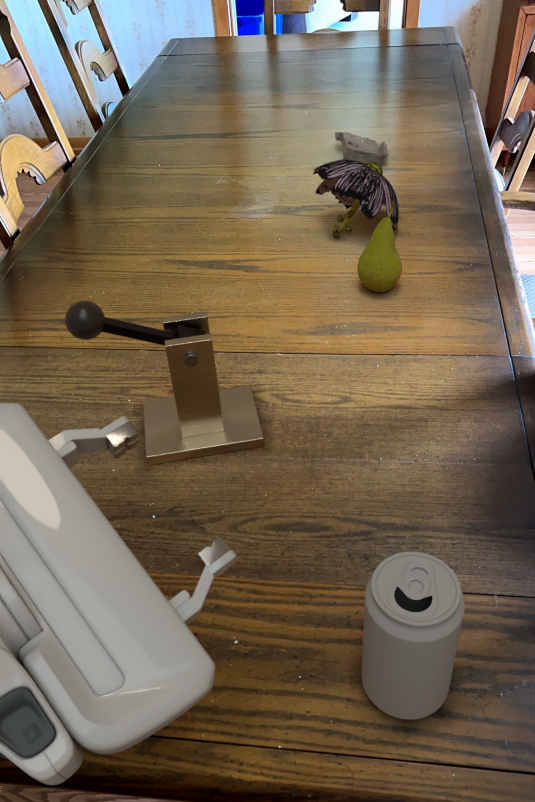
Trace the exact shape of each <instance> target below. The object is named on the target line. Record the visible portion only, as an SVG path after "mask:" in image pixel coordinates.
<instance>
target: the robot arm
mask: <svg viewBox="0 0 535 802" xmlns="http://www.w3.org/2000/svg"><path fill="white" fill-rule="evenodd" d="M140 441H141V440H140V433H139V431H138V430H137V429H136V427H135V426H134V425H133V424H132V422H131V421H130V420H129V419H128V417H127V416H125V415H123V416H120V417H118V418H116V419H115V420H114V421H111V422H110V423H109V424H106V425H105V426H104V427H102V428H100V427H94V428H93V427H91V428H75V429H64V430H63V431H61V432H59V433H57V434H56V435H54V436H53V437H51V438H49V439H48V438H47V436H46V435H45V434H44V432H43V431H42V429H40V426H38V425H37V423H36V422H35V421H34V419H33V418H32V416H31V415H30V414H29V412H28V411H27V409H26V408H25V407H24V406H23V405H22V404H21V403H18V402H17V403H16V402H0V757H1V758H3V759H5V760H9V761H10V762H11V763H13V764H14V765H15V766H17V767H18V768H19V769H20V770H22V772H24V773H25V774H27V775H28V776H29V777H31V778H32V779H34V780H36V781H37V782H39V783H42V784H44V785H48V786H57V785H60V784H63V783H64V782H65V781H67V780H68V779H69V778H71V777H72V776H73V775H74V774H75V773H76V772H77V771H78V770H79V769H80V767H81V766H82V764H83V761H84V750H83V749H85V750H87V751H89V752H92V753H95V754H98V755H114V754H117V753H121V752H123V751H126V750H128V749H131V748H132V747H133V746H135V745H138V744H139V743H141V742H143V741H145V740H146V739H148V738H150V737H151V736H153V735H154V734H156V733H157V732H159V731H161V730H162V729H164V728H165V727H167V726H168V725H170V724H171V723H172V722H174V721H175V720H177V719H178V718H180V717H181V716H182V715H184V714H186V712H188V711H189V710H190V709H192V708H193V707H194V706H196V705H197V704H198V703H199V702H201V701H202V700H203V699H204V698H205V697H206V696H208V694H209V693H210V692H211V691H212V689H213V687H214V686H213V685H214V682H215V675H216V663H215V661H214V660H213V659H212V658H211V656H210V655H209V654H208V652H207V651H206V650H205V648H204V647H203V646H202V644H201V643H200V642H199V640H198V638H197V637H196V636H195V634H194V633H193V631H192V630H191V629H190V628H189V627H188V626H189V625H191V623H193V622H194V621H195V620H197V618H199V617H200V614H201V611H202V609H203V607H204V604H205V601H206V600H207V597H208V595H209V592H210V589H211V587H212V584H213V582H214V580H216V579H217V578H218V577H219V576H220V575H222V574H223V573H225V572H226V571H227V570H229V569H230V568H231V567H232V566H233V565H235V563H236V561H237V559H238V555H237V554H236V553H235V551H234V549H232V548H231V547H230V545H229V544H228V543H227V542H226V541H225V539H224V538H223V537H222V536H220V537H218V538H216V539H215V540H214V541H213V542H212V543H211V545H209V546H208V545H207V546H205V547H204V548H203V549H201V550H200V551H199V552H197V555H196V559H195V564H196V565H197V566H198V568H199V569H200V570H201V571H202V572H201V574H200V577H199V579H198V582H197V584H196V587H195V589H194V591H193V594H192V596H191V595H190V593H189V592H188V591H187V590H186V589H183V590H181V591H180V592H178V593H177V594H176V595H175V596H173V597H172V598H171V599H169V600H168V599H167V597H166V596H165V595H164V593H163V592H162V591H161V589H160V588H159V586H158V585H157V584H156V582H155V581H154V580H153V579H152V577H151V576H150V574H149V573H148V572H147V570H146V569H145V568H144V567H143V565H142V564H141V563H140V561H139V560H138V558H137V557H136V556H135V554H134V553H133V552H132V551H131V549H130V547H129V546H128V545H127V544H126V543H125V541H124V540H123V539H122V536H121V535H120V534H119V533H118V532H117V531H116V529H115V527H114V526H113V525H112V524H111V522H110V521H109V520H108V518H107V517H106V516H105V514H104V513H103V512H102V509H100V508H99V506H98V504H97V503H96V502H95V501H94V499H93V498H92V496H91V495H90V494H89V493H88V492H87V490H86V489H85V488H84V486H83V485H82V484H81V482H80V481H79V479H78V478H77V477H76V475H75V474H74V473H73V472H72V470H71V469H72V468H73V467H75V466H77V464H79V463H80V456H79V454H87V453H97V452H103V451H108V452H109V453H110V454H111V455H112V457H113V458H114V459H115V460H117V459H118V458H120V457H122V456H124V455H125V454H126V451H128V450H129V451H130V450H132V449H134V448H135V447H136V446H138V445H139V443H140Z"/></svg>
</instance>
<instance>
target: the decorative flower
mask: <svg viewBox="0 0 535 802" xmlns="http://www.w3.org/2000/svg"><path fill="white" fill-rule="evenodd" d="M383 171H384V170H383V167H382V166H381V165H379V164H378V163H376V162H368V163H366V164H363V163H361V162H358V161H354V160H346V159H338V160H333V161H329V162H326V163H323V164H321V165H319V166H317V167H315V168H313V173H312V176H313V175H316V174H317V175H318V176H319V178H320V180H323V181H321V183H319V185H318V186H317V187H316V189H315V195H321V196H323V195H324V194H326V193H330V194H332V195H333V196H334V197H335V198H334V199H335V200H337V201H338V204H343V205H344V207H345V210H346V211H347V210H348V209H349V210H348V211H347V212H346V213H345V215H344V216H343V214H338V215H337V216H336V221H337V222H339V224H338V225H333V226H332V228H331V230H332V236H333V237H334V238H339V237H340V235H341V232H340V231H341V230H342V229H343V228H344V230H345V232H346V233H351V232H352V231H353V226H352V225H351V224H349V223H350V222H351V221H352V219H353V218H354V217H355V215H356V214H357V212H358V211H360V212H361V213H362V214H363V215H364V217H366V218H367V220H373V219H374V218H375V217H377V215H378V214H379V213H380V211H381V209H382V207H383V206H384V207H385V214H386V217H387V216H388V215H389V212H390V210H391V204H392V201H395V205H394V208H393V211H392V213H391V216H390V219H391V223H392V228H393V232H395V231H396V230H398V224H399V218H400V217H399V216H400V211H399V209H400V208H399V203H398V199H397V198H398V197H397V194H396V191H395V189H394V187H393V185H392V184H391V181H389V179H387V178H386V177H385V176H384V172H383ZM359 209H360V210H359Z"/></svg>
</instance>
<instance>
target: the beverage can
mask: <svg viewBox="0 0 535 802" xmlns="http://www.w3.org/2000/svg"><path fill="white" fill-rule="evenodd" d="M363 608H364V609H363V626H362V627H363V629H362V631H363V632H362V648H361V649H362V652H361V673H360V674H361V682H362V687H363V690H364V691H365V693H366V696H367V698H368V699H369V700H370V701H371V702H372V704H373V705H374V706H376V707H377V709H378V710H380V711H382V712H383V713H384V714H386V715H388V716H390V717H393V718H397V719H401V720H407V721H412V720H419V719H423V718H426V717H429V716H431V715H433V714H434V713H435V712H437V711H438V710H439V709H440V708H441V707H442V706H443V704H444V703H445V701H446V700H447V698H448V693H449V691H450V685H451V681H452V676H453V672H454V671H453V670H454V666H455V660H456V657H457V656H456V655H457V650H458V645H459V641H460V635H461V632H462V625H463V620H464V616H465V610H466V609H465V608H466V600H465V595H464V593H463V590H462V587H461V583H460V580H459V579H458V577H457V575H456V573H455V572H454V571H453V569H452V568H451V567H450V566H449V565H448V564H447V563H446V562H444V561H443V560H442V559H440V558H439V557H436V556H434V555H432V554H428V553H425V552H420V551H402V552H397V553H394V554H392V555H390V556H388V557H386V558H384V559H383V560H382V561H381V562H380V563H379V564H378V565H377V566H376V568H375V570H374V571H373V574H372V575H371V576H370V578H369V579H368V581H367V583H366V586H365V590H364V607H363Z"/></svg>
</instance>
